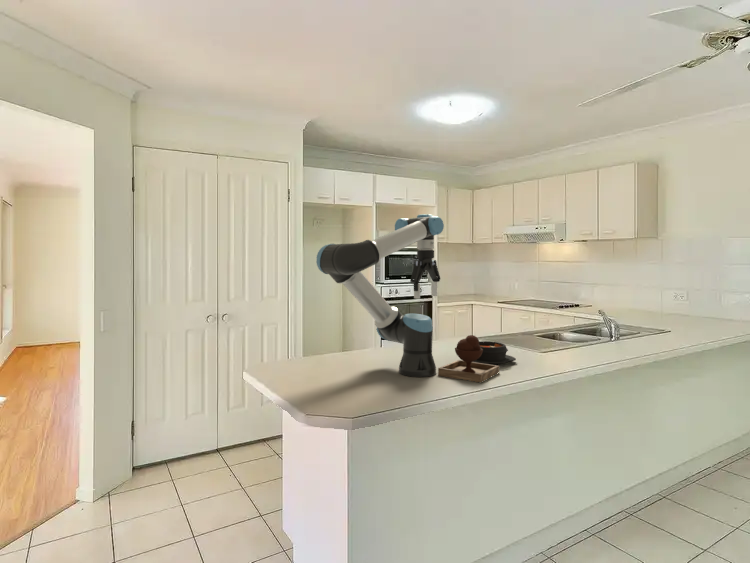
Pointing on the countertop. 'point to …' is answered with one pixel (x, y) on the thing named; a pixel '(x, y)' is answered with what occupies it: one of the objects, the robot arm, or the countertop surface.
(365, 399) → the countertop surface
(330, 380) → the countertop surface
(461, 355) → the ice cream bowl
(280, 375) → the countertop surface
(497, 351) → the casserole
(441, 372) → the walnut tray
